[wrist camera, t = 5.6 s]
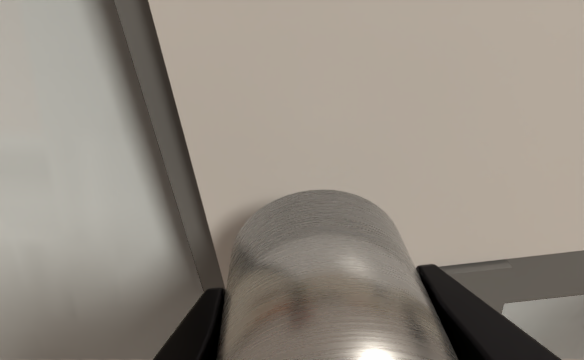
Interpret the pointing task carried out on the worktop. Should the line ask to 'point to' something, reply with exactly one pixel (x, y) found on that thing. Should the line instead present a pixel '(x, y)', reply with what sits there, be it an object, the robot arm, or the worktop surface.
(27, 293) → the worktop surface
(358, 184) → the kitchen scale
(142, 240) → the worktop surface
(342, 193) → the cylinder
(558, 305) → the worktop surface
